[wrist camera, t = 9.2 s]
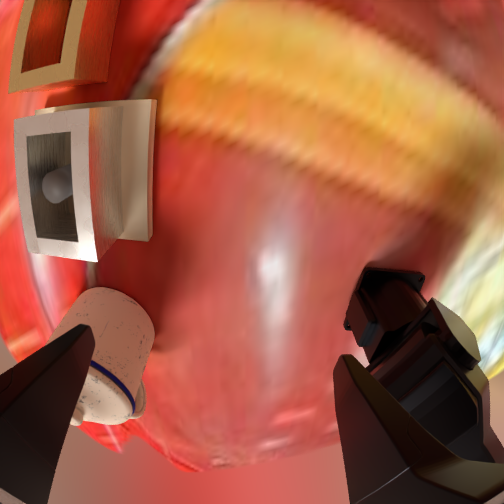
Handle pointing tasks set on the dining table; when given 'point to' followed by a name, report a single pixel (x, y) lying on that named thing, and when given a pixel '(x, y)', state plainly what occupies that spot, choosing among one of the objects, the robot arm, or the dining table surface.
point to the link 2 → (83, 180)
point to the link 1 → (74, 46)
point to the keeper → (132, 165)
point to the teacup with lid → (111, 355)
